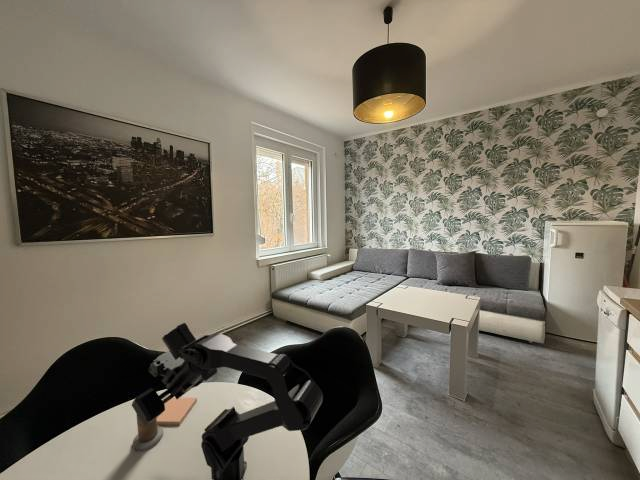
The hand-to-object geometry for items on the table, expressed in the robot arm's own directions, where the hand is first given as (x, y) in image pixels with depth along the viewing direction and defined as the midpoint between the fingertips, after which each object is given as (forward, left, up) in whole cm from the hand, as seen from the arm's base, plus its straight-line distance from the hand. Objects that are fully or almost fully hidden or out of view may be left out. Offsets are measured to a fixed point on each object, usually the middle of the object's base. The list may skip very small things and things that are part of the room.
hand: (162, 401), depth 66 cm
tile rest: (+5, -12, -13) cm, 19 cm away
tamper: (+6, -2, -13) cm, 15 cm away
